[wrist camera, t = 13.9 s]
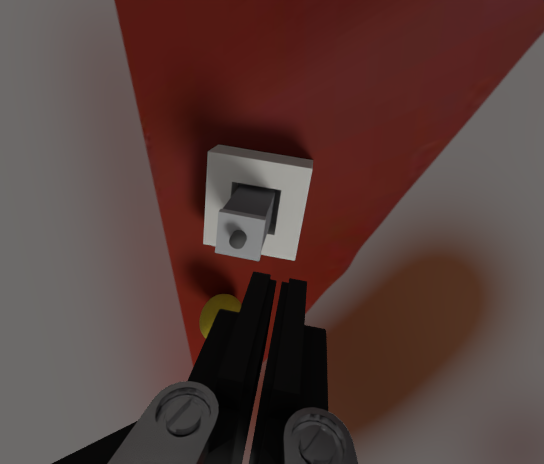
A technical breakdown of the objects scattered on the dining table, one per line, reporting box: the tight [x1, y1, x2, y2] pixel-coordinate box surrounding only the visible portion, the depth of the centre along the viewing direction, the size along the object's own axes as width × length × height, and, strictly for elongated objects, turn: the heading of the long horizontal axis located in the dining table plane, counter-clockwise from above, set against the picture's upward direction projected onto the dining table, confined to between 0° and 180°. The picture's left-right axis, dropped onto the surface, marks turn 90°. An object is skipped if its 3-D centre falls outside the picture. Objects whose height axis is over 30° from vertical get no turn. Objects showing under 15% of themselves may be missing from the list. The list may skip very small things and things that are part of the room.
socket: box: [203, 144, 313, 261], centre depth 38 cm, size 11×11×4 cm
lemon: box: [200, 294, 242, 338], centre depth 43 cm, size 6×6×8 cm
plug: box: [215, 183, 277, 261], centre depth 34 cm, size 4×4×11 cm
